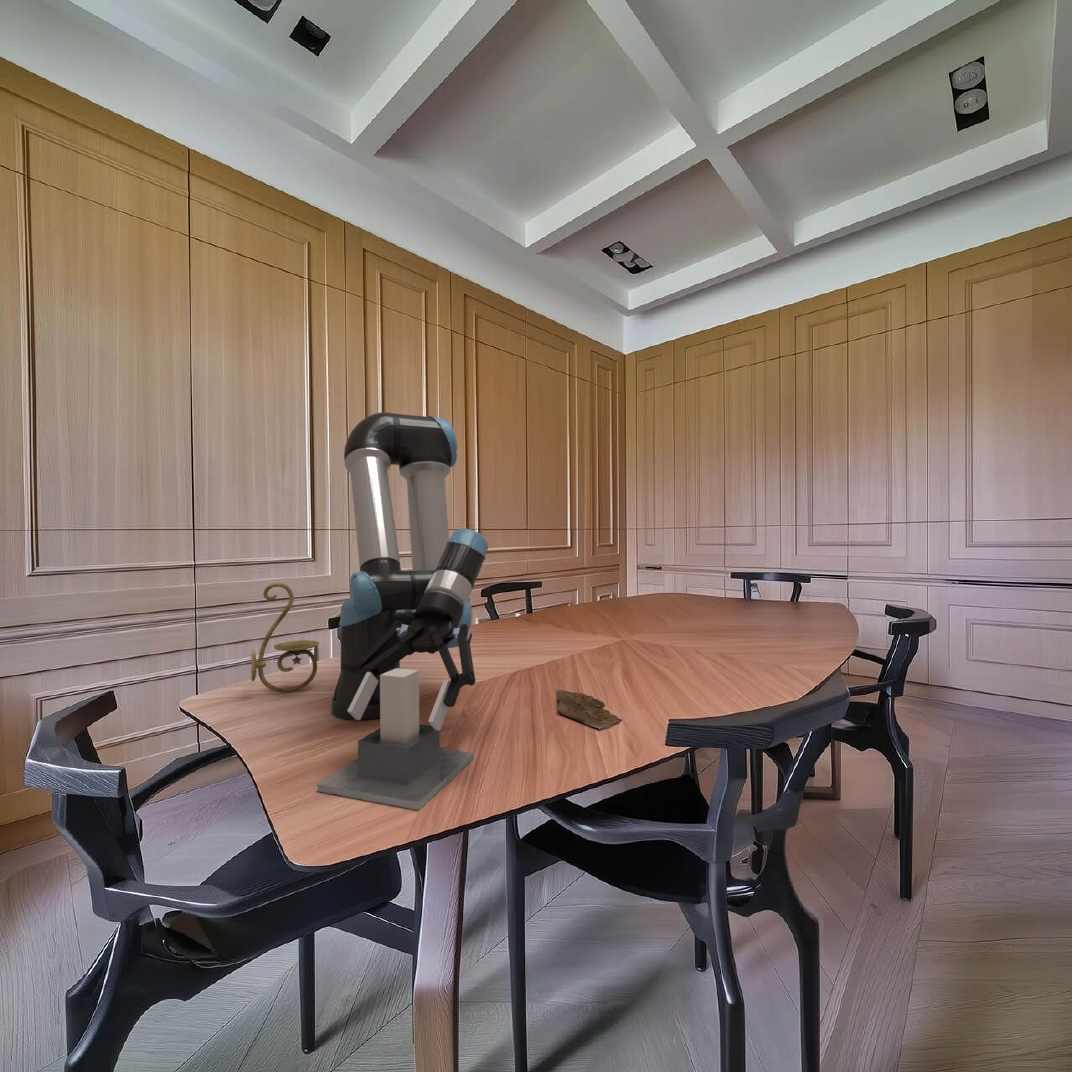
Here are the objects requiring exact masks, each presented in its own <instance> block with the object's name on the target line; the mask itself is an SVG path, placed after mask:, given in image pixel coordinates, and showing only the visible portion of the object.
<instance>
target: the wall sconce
mask: <svg viewBox="0 0 1072 1072" xmlns="http://www.w3.org/2000/svg"><path fill="white" fill-rule="evenodd" d="M277 587H278V588H281V589H284V590H285V591H286V592H287V594H288V603H287V605H286V606H285V608H284V610H283V611H282V612H281V613H280V614H279V617H277V618H276V620H275V622H273V624H272V626H271V627H270V628H269V630H268V631H267V633H266V635H265V637H264V639H263V641H262V644H261V646H260V649H259V653H258V660H257V655H256V652H255V650H254V649H253V650H251V657H250V658H251V659H250V660H251V661H250V662H251V663H250V664H251V665H250V666H251V669H250V671H251V682H254V681H255V680H256V678H257V671H258V675H259V676H258V677H259V680H260V681H261V683H262V685H264V686H265V687H266V688H267V689H269V690H271V691H273V692H278V693H292V692H296V691H299V690H301V689H303V688H305V687H307V686H308V685H309V684H310V683H311V682H312V681H313V680H314V678H315V676H316V675H317V671H318V661H317V658H316V655H314V653H313V652H312V651H311V650H309V649H313V648H315V647H318V646H319V645H320V641H318V640H317V641H316V640H293V641H286V642H281V643H277V644H274V645H273V648H274V650H277V651H281V652H282V651H284V652H283V653H282V654H281V655H280V656H279V657H278V659H277V663H276V665H277V667H278V668H277V669H278V670H280V671H281V672H282V673H286V672H291V671H293V670H294V667H291V666H289V667H284V666H283V664H282V663H283V660H284V659H285V658H286V657H288V656H290V655H294V656H295V658H292V659H291V660H292V662H293V665H296V664H298V665H301V660H302V659H303V658H301V657H300V658H299V656H300V654H306V655H307V656H308V657H309V658H310V659H311V663H312V671H311V674H310V675H309V677H308V678H307V679H306V680H305V681H304V682H302V683H300V684H298V685H295V686H292V687H278V686H275V685H273V684H272V683H270V682H269V681H268V680H267V679H266V677H265V673H264V668H265V667H267V662H266V661H264V654H265V651H266V648H267V645H268V643H269V641H270V639H271V637H272V635H273V633H274V631H275V630H276V629H277V628H278V626H279V624H281V622H282V621H283V619H285V617H286V615H287V614H288V613H289V611H290V610H291V608H292V606H293V604H294V599H295V596H294V593H293V591H292V589H291V587H289V586H288V585H287V584H285V583H282V582H275V583H274V582H273V583H270V584H269V585H268V586H266V587H265V589H264V591H263V594H262V595H263V597H264V598H265V600H268V601H274V600H275V599H277V597H278V595H276V594H273V596H269V594H268V593H269V591H270V590H271V589H273V588H277Z"/></svg>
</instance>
